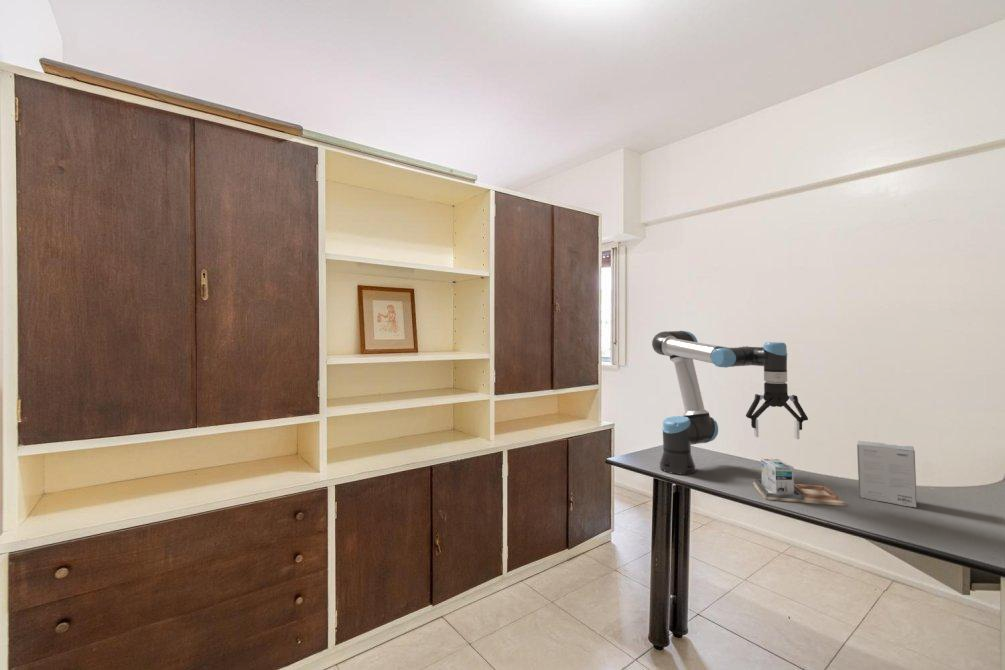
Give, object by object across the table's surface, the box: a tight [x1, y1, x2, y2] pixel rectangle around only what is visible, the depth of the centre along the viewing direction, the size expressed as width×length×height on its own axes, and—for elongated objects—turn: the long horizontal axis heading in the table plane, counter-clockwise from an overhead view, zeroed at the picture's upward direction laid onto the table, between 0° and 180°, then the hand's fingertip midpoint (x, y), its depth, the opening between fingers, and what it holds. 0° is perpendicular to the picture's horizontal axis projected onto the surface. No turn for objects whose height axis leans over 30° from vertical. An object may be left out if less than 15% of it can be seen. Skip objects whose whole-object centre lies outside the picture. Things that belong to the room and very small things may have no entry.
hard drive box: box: [856, 440, 918, 508], centre depth 152 cm, size 16×8×20 cm, turn 47°
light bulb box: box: [760, 458, 795, 495], centre depth 161 cm, size 11×7×11 cm, turn 175°
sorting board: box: [752, 478, 847, 507], centre depth 159 cm, size 25×16×2 cm, turn 73°
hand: (776, 437), depth 161 cm, fingers open, 13 cm apart
